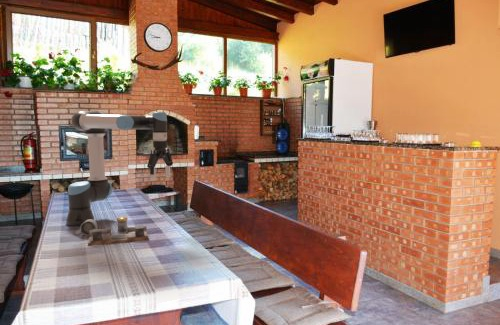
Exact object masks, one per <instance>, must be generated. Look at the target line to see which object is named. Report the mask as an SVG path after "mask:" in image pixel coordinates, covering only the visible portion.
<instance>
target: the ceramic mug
mask: <svg viewBox="0 0 500 325" xmlns="http://www.w3.org/2000/svg"><path fill="white" fill-rule="evenodd" d="M98 226H99V225H98V222H97V221H96V220H95V219H94V220H93V219H89V220H86V221H85V222H84V223H82V225H80V226H79V229H78V230H76V231H75V235H77V236H78V235H80V234H82V235H83V236H86V237H88V236H89V237H91V235H89V230H93V229H98Z"/></svg>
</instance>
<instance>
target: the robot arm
mask: <svg viewBox="0 0 500 325" xmlns="http://www.w3.org/2000/svg"><path fill="white" fill-rule="evenodd" d="M70 122H71V125H72V127H73V128H74V129H75V130H77V131H81V132H84V135H86V136H87V143H88V144H87V146H88V164H89V165H88V167H89V176H88V178H87V180H85V181H84V180H83V181H82V180H81V181H77V182H73V183H71V184H69V185H68V187H67V188H68V189H67V195H68V213H67V217H66V219H65V220H66V221H65V224H66V225H67V226H74V227H75V226H77V227H78V226H79V227H80V226H81V225H82V223H84V222H85V221H86V220H89V219H93V220H95V217H94V214H93V211H92V207H91V204H92V203H95V202H100V201H104V200H106V199H108V198H110V196H112V193H113V185H112V184H111V181H109V180H108V177H107V176H106V169H105V168H106V166H105V153H104V152H105V149H104V136H106V132H107V130H123V131H128V130H130V131H131V130H152V140H153V141H152V147H153V148H154V149H150V155H149V159H148V162H147V166H146V167H147V168H148V169H149V172H150V181H153V182H154V181H157V180H156V179H157V175H156V168H155V167H156V166H157V163H158V161H159V159H160V158H162V160H163V162H164V163H165V170H164V171H165V178H171V166H173V165H174V164H173V163H174V162H173V159H172V156H171V153H170V152H171V151H170V148H168V141H167V140H168V131H167V130H168V118H167V113H166V112H165V111H153V112H152V115H143V114H142V115H131V114H130V115H129V114H106V113H104V112H102V111H95V110H94V111H93V110H91V111H90V110H89V111H88V110H87V111H85V110H80V111H76V112H75V113H74V114H73V115H72V116H71V121H70Z"/></svg>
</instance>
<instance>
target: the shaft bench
mask: <svg viewBox="0 0 500 325" xmlns="http://www.w3.org/2000/svg"><path fill="white" fill-rule="evenodd" d="M147 230H148V228H147V225H143V224H141V225H139V224H138V225H134V226H128V225H127V226H126V231H125V233H119V234H118V233H117V234H112V227H111V226H109V227H108V228H104V229H102V228H97V229H93V230H89V235H90V236H89V237H88V241H87V246H99V245H108V244H120V243H131V242H140V241H141V242H144V241H149V240H150V239H149V235H148V232H147Z"/></svg>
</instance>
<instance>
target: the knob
mask: <svg viewBox="0 0 500 325" xmlns="http://www.w3.org/2000/svg"><path fill="white" fill-rule="evenodd" d="M127 221H128V217H127V216H119V217H116V222H117V232H118V233H126V226H128V222H127Z"/></svg>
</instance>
